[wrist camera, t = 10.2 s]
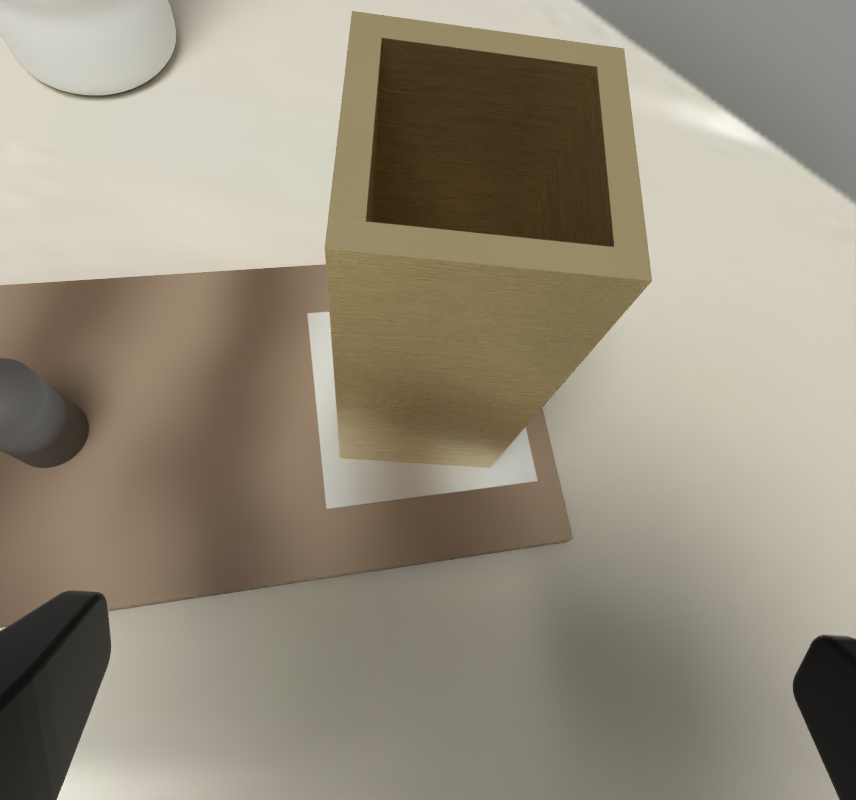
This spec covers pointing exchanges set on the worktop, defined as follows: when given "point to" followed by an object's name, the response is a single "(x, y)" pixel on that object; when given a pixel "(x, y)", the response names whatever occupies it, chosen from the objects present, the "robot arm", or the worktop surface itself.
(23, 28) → the water bottle
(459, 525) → the shaft board
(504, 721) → the worktop surface
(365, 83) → the sleeve
